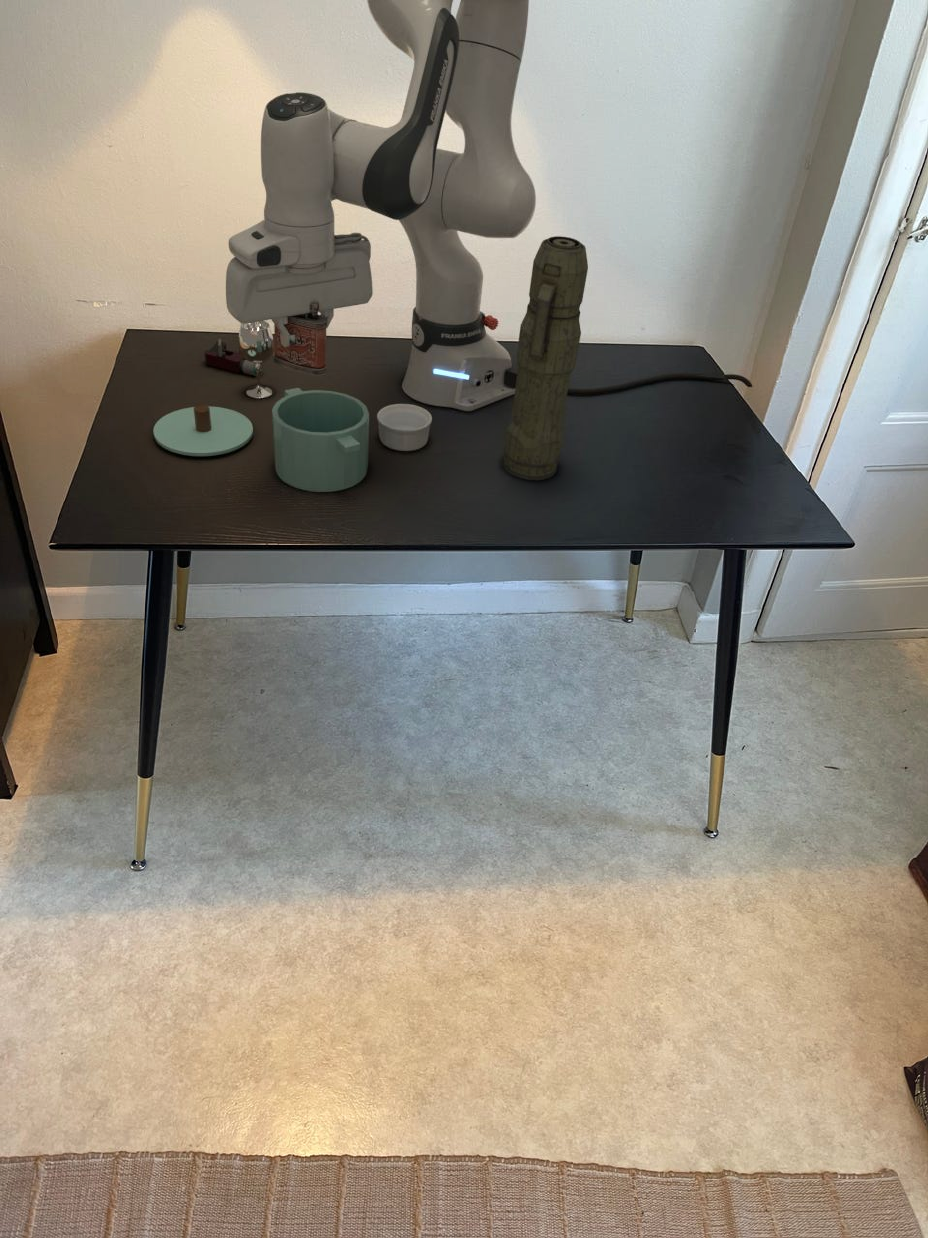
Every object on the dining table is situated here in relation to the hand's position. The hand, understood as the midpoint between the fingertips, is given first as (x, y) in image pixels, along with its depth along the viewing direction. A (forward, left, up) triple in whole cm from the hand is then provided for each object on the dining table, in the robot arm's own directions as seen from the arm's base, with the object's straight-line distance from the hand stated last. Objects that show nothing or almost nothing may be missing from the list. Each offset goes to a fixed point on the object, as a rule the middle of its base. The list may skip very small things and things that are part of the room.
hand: (303, 342), depth 125 cm
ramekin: (-18, -2, -21) cm, 28 cm away
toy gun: (-6, -39, -21) cm, 44 cm away
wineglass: (-4, -27, -21) cm, 34 cm away
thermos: (-32, +14, -21) cm, 41 cm away
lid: (+10, -16, -20) cm, 27 cm away
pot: (-2, 0, -20) cm, 21 cm away
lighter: (+1, 0, -4) cm, 4 cm away
